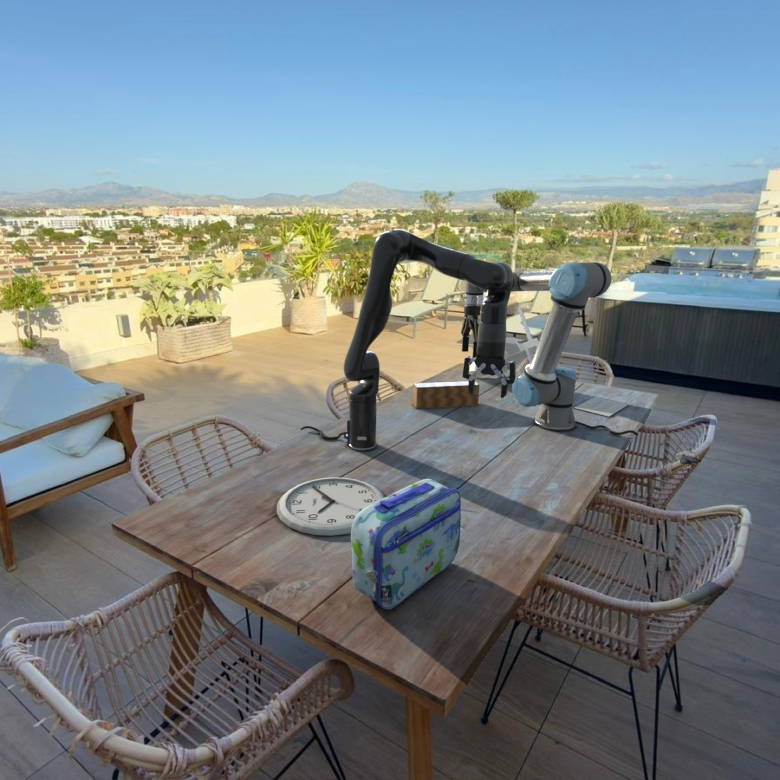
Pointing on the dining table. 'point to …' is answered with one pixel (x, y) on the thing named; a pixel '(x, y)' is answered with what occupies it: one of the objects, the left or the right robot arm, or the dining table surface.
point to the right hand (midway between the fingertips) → (470, 355)
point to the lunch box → (405, 541)
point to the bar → (444, 394)
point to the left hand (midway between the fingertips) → (487, 395)
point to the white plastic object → (515, 348)
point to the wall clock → (326, 505)
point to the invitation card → (601, 406)
